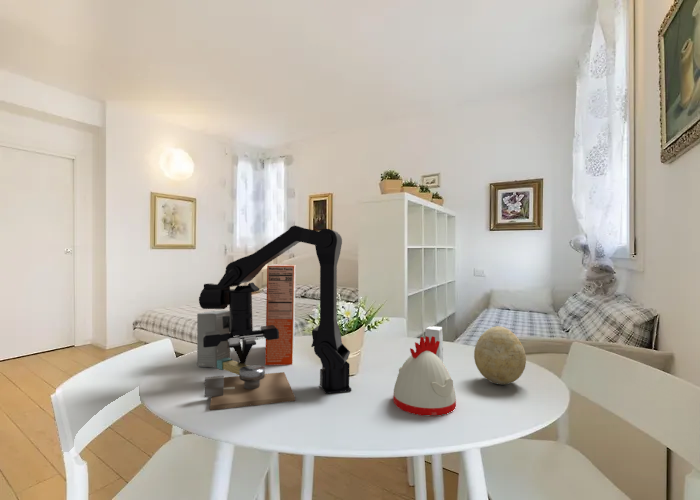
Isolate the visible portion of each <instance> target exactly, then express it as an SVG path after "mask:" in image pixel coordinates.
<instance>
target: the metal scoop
mask: <svg viewBox="0 0 700 500" xmlns="http://www.w3.org/2000/svg"><path fill="white" fill-rule="evenodd" d="M216 369H217V370H220V371H226V372H230V373H233V374H235V375H237V376H239V379H240V380H242V381H257V380H261V379H263V378H264V377H265V374H266V366H263V365H257V364H253V365H252V364H251V365H249V364H246V363H245V364H243V363H240V361H236V360H233V358H231V357H230V358H223V359H218V360H217V368H216Z"/></svg>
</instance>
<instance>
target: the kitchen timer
mask: <svg viewBox="0 0 700 500" xmlns="http://www.w3.org/2000/svg"><path fill="white" fill-rule="evenodd" d="M439 344H440V341H436V343H435V337H433V336H432V337H431V341H429V337H427V336H426V335H425V337H423V336H420V338H419V343H418V342H417V341H416V342H414V346H415V350H414V349H413V348H411V347H410V348H409V351H410V355H409V357H408V358H407V359H406V360H405V362H404V363H402V366H401V367H399V368H398V374H397V376H396V381H395V382H394V388H393V395H392V396H393V399H392V400H393V404H394V405H395V406H396V407H397V408H398V409H399V410H402V411H403V412H406V413H409V414H412V413H413V415H417V414H418V415H417V416H423V415H441V416H443V415H442V414H446V415H448V414H447V413H449V412H451V411H453V410H454V409H455V410H456V408H455V407H456V405H457V404H456V403H457V396H456V395H457V394H456V391H455V387H454V380H453V379H452V377H451V374H450V372H449V370H448V368H447V367H446V365H445V364H444V361H443V362H442V361H441V360H440V358H439V357H438V356H436V353H437V350H438V347H439ZM455 410H454V411H455ZM454 411H453V412H454ZM451 413H452V412H451ZM449 414H450V413H449Z"/></svg>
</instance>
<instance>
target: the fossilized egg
mask: <svg viewBox="0 0 700 500" xmlns="http://www.w3.org/2000/svg"><path fill="white" fill-rule="evenodd" d="M473 358H474V363H475V366H476V368H477V370H478V372H479V373H480V374H481V375H482V377H483V378H485V379H486V380H488V381H489V382H491V383H493V384H496V383H498V384H497V385H508V384H512V383H514V382H515V381H517V380H519V378H520V377H521V376H522V375H523V373H524V371H525V369H526V365H527V355H526V351H525V347H524V346H523V344H522V343H521V341H520V339H519V338H518V337H517V335H516V334H515V333H514V332H513V331H512V330H510V329H509V328H507V327H504V326H501V325H497V326H492V327H490V328H488V329H486V330H485V331H484V332H483V333H482V334H481V335H480V337H479V338H478V339H477V342H476V343H475V346H474V352H473Z"/></svg>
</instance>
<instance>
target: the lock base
mask: <svg viewBox="0 0 700 500" xmlns="http://www.w3.org/2000/svg"><path fill="white" fill-rule="evenodd" d="M203 393H204V394H203V398H210V405H209V410H210V411H213V410H215V411H216V410H222V409H223V410H224V409H232V408H233V409H234V408H243V407H251V406H261V405H268V404H277V403H287V402H295V401H296V396H295V393H294V391H293V389H292V386H291V385H290V382H289V380H288V377H287V376H286V373H285V371H282V372H271V373H265V377H264V378H263V379H261V380H257V381H242V380H240V379H239V375H237V376H235V375H234V376H225V375H217V376H205V377H204V392H203Z"/></svg>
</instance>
